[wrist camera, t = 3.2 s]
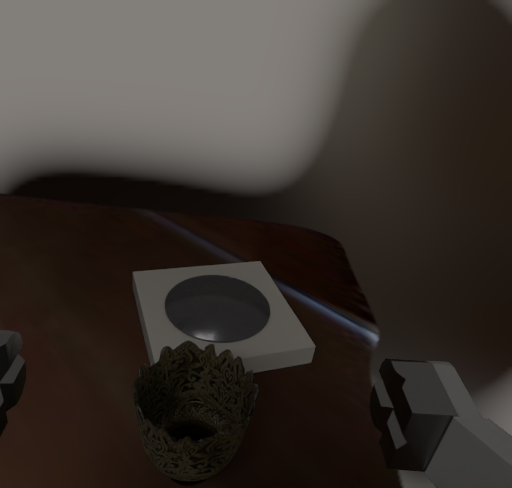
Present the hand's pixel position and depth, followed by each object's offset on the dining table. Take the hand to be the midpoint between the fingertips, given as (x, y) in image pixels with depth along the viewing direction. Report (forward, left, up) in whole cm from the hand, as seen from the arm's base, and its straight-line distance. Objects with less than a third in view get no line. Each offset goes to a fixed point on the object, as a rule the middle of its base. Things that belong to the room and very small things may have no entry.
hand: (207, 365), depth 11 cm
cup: (-12, +4, -22) cm, 25 cm away
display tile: (-26, +10, -22) cm, 35 cm away
